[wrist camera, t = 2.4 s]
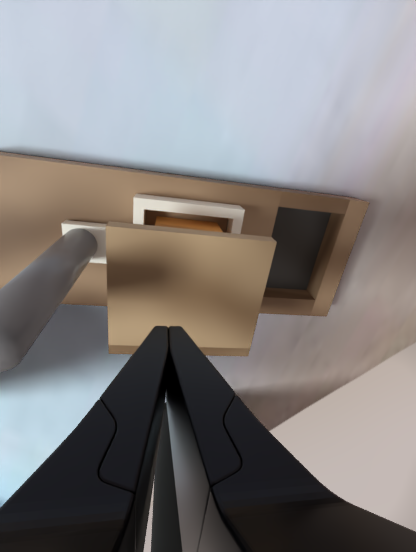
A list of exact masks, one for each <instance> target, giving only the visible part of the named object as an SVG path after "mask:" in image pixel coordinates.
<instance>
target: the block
mask: <svg viewBox="0 0 416 552" xmlns="http://www.w3.org/2000/svg"><path fill="white" fill-rule="evenodd" d="M155 226H162V227H173V228H183V229H193V230H204V231H214V232H223V231H222V230H221V228H220V226H219V225H218V223H217V222H208V221H198V220H188V219H179V218H169V217H159V216H157V217H156V222H155Z"/></svg>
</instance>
